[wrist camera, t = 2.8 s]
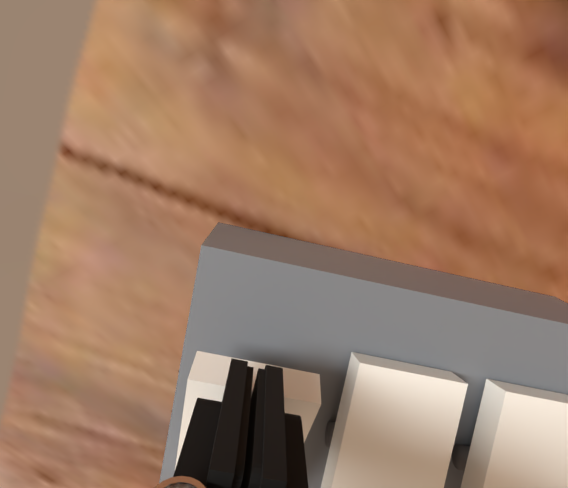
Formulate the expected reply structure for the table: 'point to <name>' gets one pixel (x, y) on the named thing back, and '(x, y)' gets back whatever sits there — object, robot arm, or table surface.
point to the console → (363, 327)
